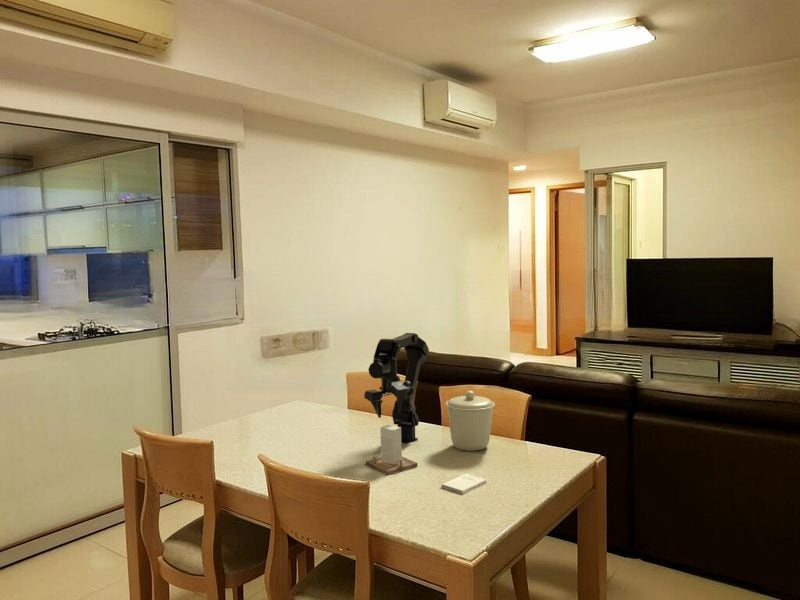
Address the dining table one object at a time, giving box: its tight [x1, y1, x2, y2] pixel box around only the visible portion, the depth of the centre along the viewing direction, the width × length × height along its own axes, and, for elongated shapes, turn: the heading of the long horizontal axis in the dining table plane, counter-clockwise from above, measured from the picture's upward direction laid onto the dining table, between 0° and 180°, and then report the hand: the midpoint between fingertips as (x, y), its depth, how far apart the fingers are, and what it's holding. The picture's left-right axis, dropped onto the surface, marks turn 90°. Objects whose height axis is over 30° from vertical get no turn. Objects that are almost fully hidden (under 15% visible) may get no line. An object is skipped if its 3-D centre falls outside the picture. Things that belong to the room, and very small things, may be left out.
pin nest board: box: [365, 455, 418, 476], centre depth 207 cm, size 13×13×4 cm
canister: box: [445, 390, 496, 452], centre depth 225 cm, size 18×18×21 cm
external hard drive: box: [441, 473, 488, 495], centre depth 189 cm, size 2×8×12 cm
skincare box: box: [380, 424, 403, 465], centre depth 207 cm, size 6×4×12 cm
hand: (390, 415), depth 223 cm, fingers open, 9 cm apart
